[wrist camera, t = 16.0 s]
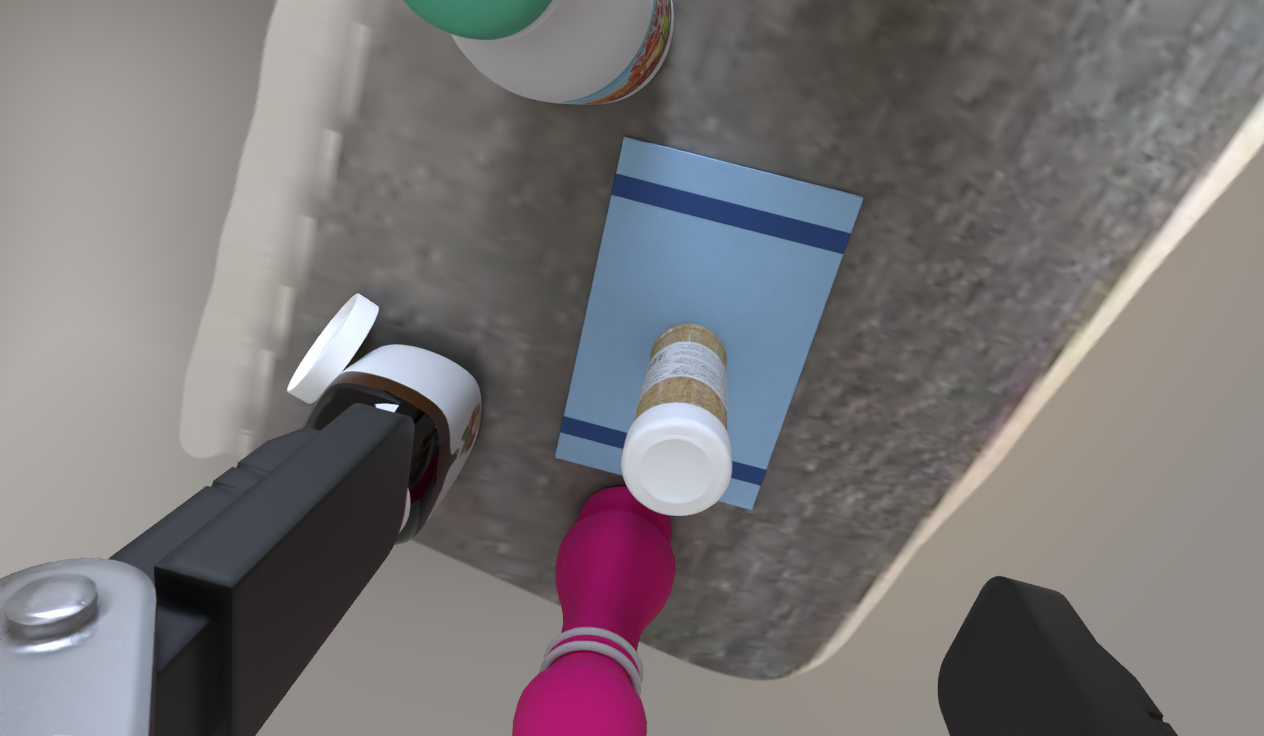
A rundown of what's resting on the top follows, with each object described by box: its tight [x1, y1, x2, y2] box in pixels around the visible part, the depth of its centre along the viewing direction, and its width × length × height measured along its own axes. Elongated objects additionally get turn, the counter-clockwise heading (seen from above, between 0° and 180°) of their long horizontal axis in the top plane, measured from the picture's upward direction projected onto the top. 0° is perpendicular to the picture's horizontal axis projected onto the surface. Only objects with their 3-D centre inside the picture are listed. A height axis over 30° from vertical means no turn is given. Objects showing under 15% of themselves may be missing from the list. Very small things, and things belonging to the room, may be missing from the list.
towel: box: [555, 137, 863, 510], centre depth 39 cm, size 20×13×1 cm, turn 167°
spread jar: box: [287, 294, 482, 545], centre depth 38 cm, size 12×11×12 cm
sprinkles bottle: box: [621, 323, 732, 516], centre depth 33 cm, size 5×5×14 cm
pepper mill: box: [512, 486, 675, 736], centre depth 36 cm, size 7×7×20 cm
